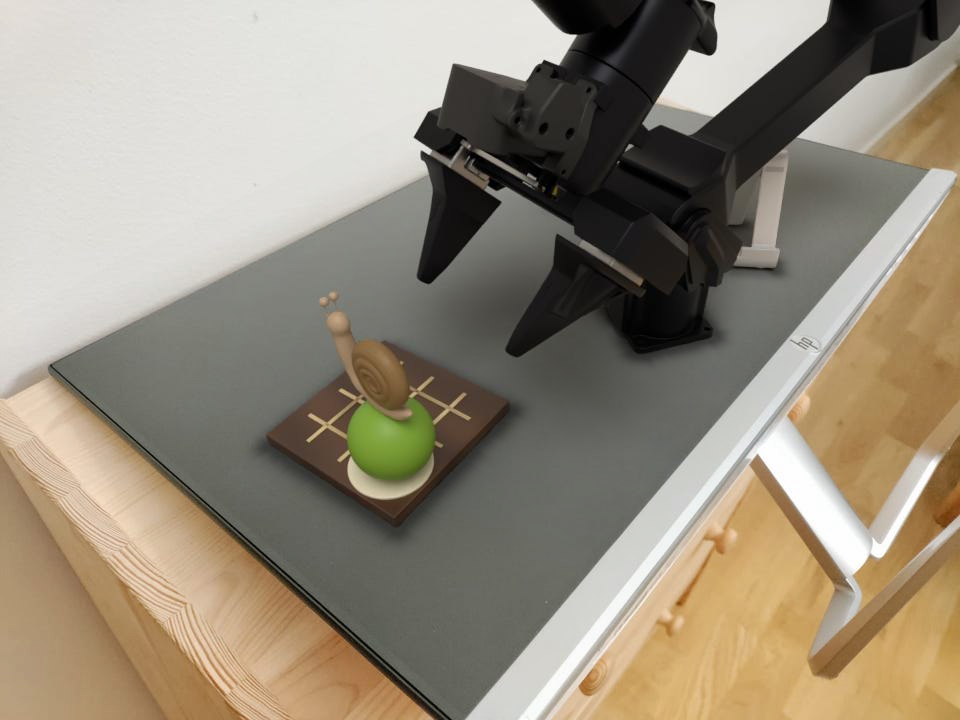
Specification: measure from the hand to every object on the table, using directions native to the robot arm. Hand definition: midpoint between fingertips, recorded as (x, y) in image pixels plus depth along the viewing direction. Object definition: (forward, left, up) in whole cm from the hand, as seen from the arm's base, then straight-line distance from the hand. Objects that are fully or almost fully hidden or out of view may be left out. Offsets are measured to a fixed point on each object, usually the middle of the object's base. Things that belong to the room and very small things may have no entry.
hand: (463, 315), depth 43 cm
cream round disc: (+6, +2, -10) cm, 12 cm away
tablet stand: (-27, -14, -10) cm, 32 cm away
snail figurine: (+6, +2, -9) cm, 11 cm away
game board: (+6, -2, -10) cm, 12 cm away
